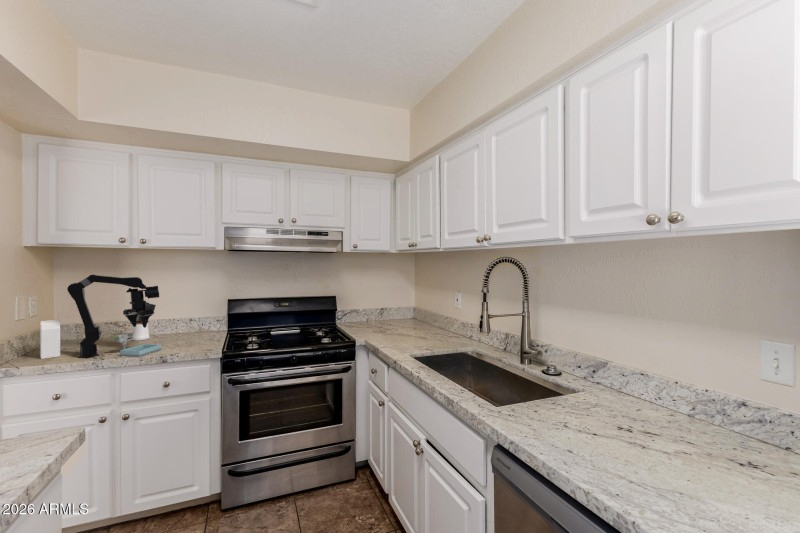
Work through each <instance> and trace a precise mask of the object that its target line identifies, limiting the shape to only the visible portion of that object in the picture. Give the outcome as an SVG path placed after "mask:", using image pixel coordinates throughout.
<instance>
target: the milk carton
mask: <svg viewBox="0 0 800 533" xmlns="http://www.w3.org/2000/svg"><path fill="white" fill-rule="evenodd" d="M39 357H40V359H41V360H42V359H43V360H45V359H50V358H57V357H61V323H60V319H52V320H51V319H50V320H41V321H40V327H39Z"/></svg>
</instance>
